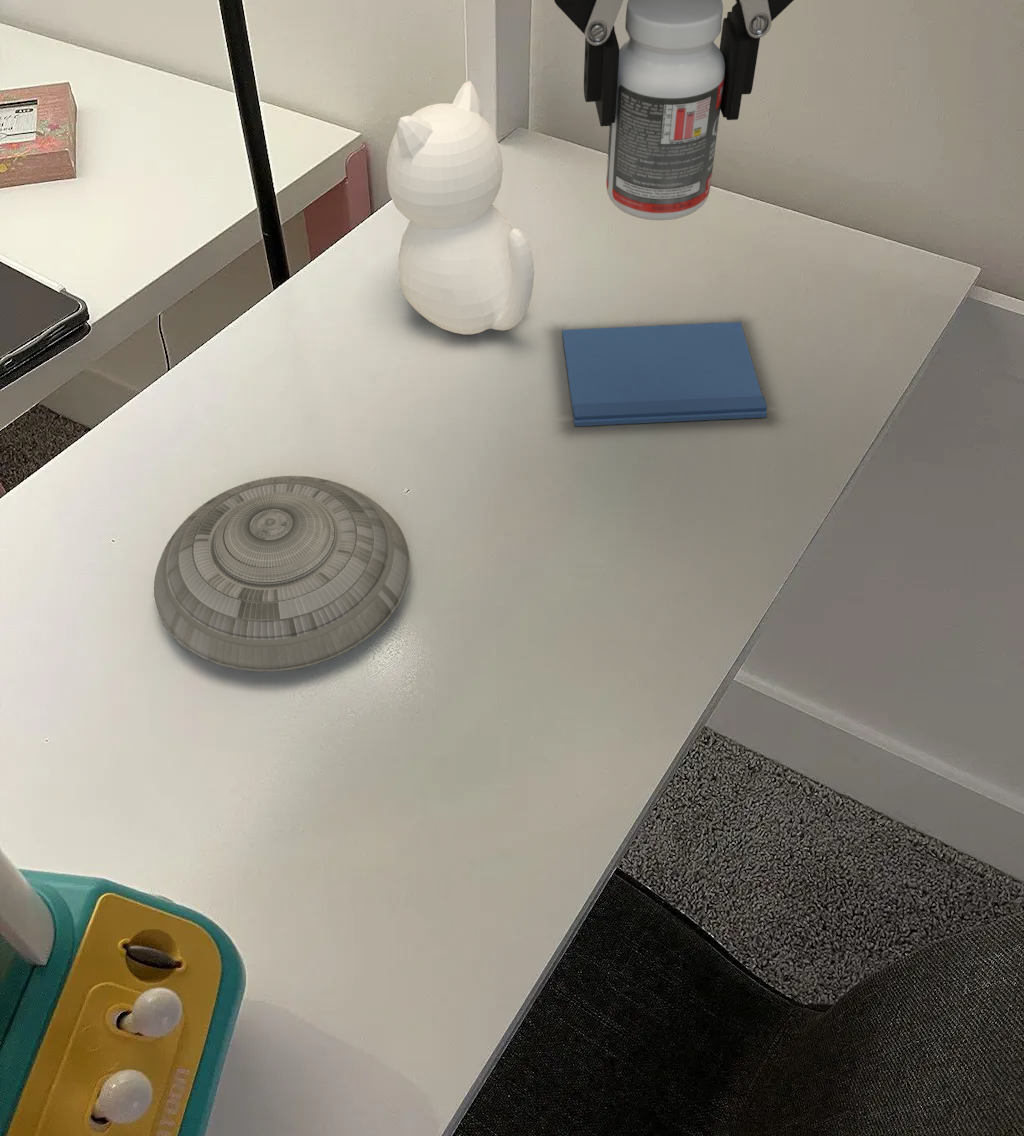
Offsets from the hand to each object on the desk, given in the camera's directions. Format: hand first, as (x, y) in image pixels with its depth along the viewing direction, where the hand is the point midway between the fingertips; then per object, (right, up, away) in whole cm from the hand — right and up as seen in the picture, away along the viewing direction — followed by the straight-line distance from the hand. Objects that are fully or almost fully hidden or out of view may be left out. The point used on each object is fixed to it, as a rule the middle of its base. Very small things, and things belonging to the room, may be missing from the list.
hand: (665, 106), depth 59 cm
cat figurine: (-11, -3, +25) cm, 27 cm away
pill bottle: (0, -3, +4) cm, 5 cm away
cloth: (+2, -8, +20) cm, 22 cm away
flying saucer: (-22, -24, +9) cm, 34 cm away
